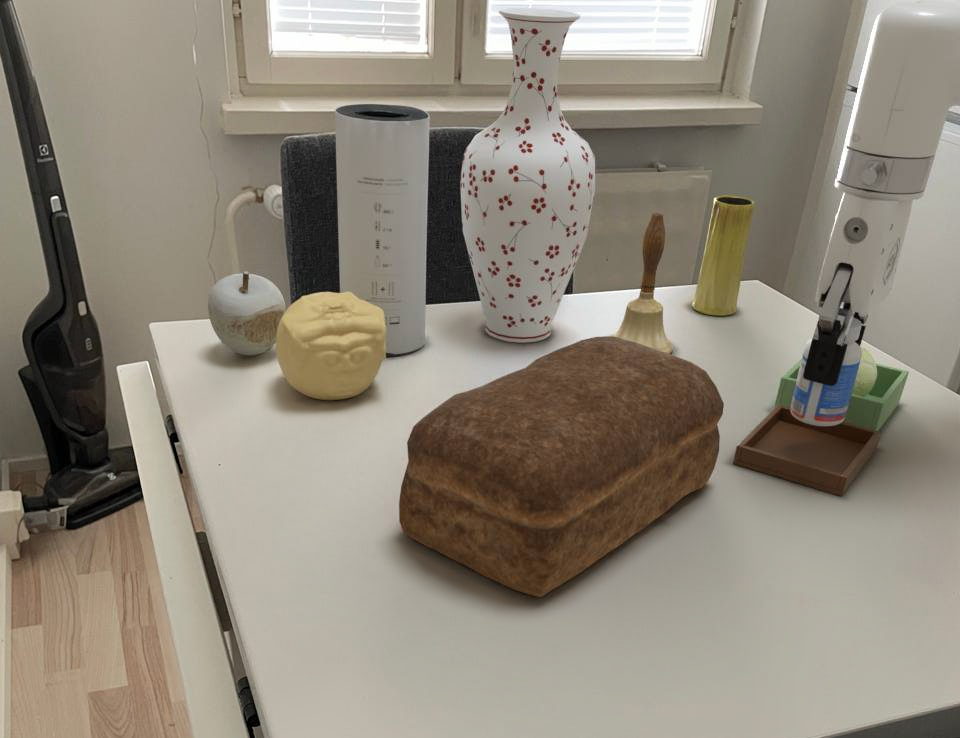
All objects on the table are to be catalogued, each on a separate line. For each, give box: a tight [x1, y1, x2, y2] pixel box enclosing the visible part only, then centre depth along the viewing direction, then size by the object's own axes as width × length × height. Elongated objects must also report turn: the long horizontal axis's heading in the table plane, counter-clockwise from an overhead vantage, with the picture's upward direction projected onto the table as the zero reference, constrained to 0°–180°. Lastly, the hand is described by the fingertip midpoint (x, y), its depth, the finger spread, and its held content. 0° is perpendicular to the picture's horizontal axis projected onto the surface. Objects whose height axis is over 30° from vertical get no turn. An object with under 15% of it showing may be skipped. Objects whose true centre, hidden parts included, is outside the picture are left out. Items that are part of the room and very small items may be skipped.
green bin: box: [773, 358, 910, 432], centre depth 112 cm, size 11×11×4 cm
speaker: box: [334, 103, 431, 357], centre depth 115 cm, size 11×10×26 cm
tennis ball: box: [852, 346, 877, 397], centre depth 110 cm, size 6×7×7 cm
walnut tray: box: [732, 405, 882, 497], centre depth 102 cm, size 11×13×2 cm
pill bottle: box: [790, 315, 863, 426], centre depth 97 cm, size 6×5×10 cm
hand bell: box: [611, 211, 674, 354], centre depth 120 cm, size 8×8×16 cm
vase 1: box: [459, 7, 596, 344], centre depth 117 cm, size 16×16×35 cm
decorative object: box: [207, 270, 286, 356], centre depth 115 cm, size 9×9×10 cm
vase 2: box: [691, 195, 755, 317], centre depth 134 cm, size 6×6×14 cm
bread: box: [398, 335, 725, 598], centre depth 88 cm, size 17×30×13 cm, turn 140°
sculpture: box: [275, 291, 387, 401], centre depth 107 cm, size 11×12×11 cm
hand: (829, 370), depth 97 cm, fingers closed on pill bottle, 5 cm apart
